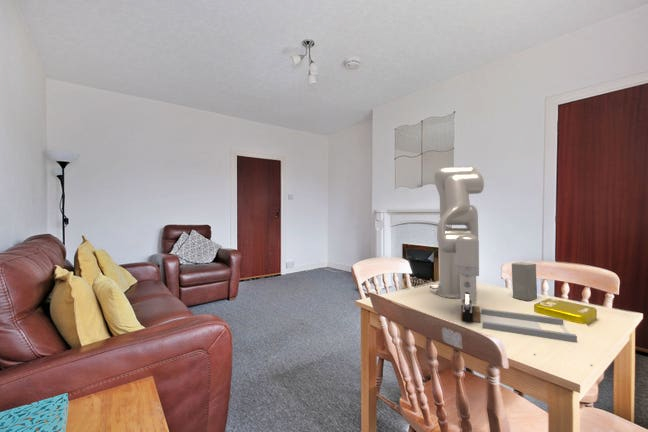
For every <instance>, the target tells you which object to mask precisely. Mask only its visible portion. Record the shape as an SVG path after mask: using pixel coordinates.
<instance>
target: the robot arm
mask: <svg viewBox="0 0 648 432" xmlns="http://www.w3.org/2000/svg"><path fill="white" fill-rule="evenodd" d="M433 179H434V184H435V187H436V190H437V192H438V195H439V221H438V224H437V234H436V238H437V239H436V240H437V244H438V245H437V246H438V255H439V256H438V257H439V258H438V259H439V261H438V262H439V263H438V264H439V271H438V272H439V283H437V284H433V283H430V284H429V289H432V290H436V291H435V293H436V295H437V296H439V297H442V298H445V299H460V303H461V305H463V311H462V322H465V323H471V324H473V323H474V322H473V313H472V306H477V278H476V277H479V276H480V240H479V214H478V210H477V208H476V206H474V205H472V204H471V202H470V195H472V194H473V195H475V194H476V195H477V194H481V193H482V192H483V191H484V187H485V181H484V177H483V175H482V173H481V171H480V170H479V169H478V168H477V167H475V166H473V165H470V166H469V165H467V166H466V165H465V166H447V167H440V168H438V169H436V170H435V172H434V178H433ZM446 226H465V227H461V228H460V227H446ZM469 306H470V307H469Z"/></svg>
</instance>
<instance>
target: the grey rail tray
mask: <svg viewBox="0 0 648 432" xmlns="http://www.w3.org/2000/svg"><path fill="white" fill-rule="evenodd" d="M480 312H481V324H482V329H484V330H485V329H486V330H491V331H499V332H504V333H512V334H519V335H525V336H532V337H538V338H545V339H550V340H557V341H563V342H570V343H571V342H572V343H578V336H577V335H576V333H575V334H574V333H570V332H569V331H568V330H567V329H568V328H566V327H565V325H564V320H563V319H562V318H555V317H551V316H547V315H537V314H531V313H530V314H528V313H523V312H522V313H521V312H512V311H505V310H504V311H503V310H497V309H496V310H495V309H489V308H488V309H487V308H482V307H481V308H480ZM539 323H541V324H550V325H556V326H560V328H561V329H562V330H563V331H564V332H561V331H556V330H547V329H542V327H541V326H540V324H539Z"/></svg>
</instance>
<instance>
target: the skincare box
mask: <svg viewBox="0 0 648 432" xmlns="http://www.w3.org/2000/svg"><path fill="white" fill-rule="evenodd" d="M511 277H512V278H511V282H512V298H514V299H518V300H522V301H525V302H529V301H532V300H535V299H538V288H537V287H538V285H537V264H536V263H534V262H533V263H531V262H523V261H522V262H513V263H511Z"/></svg>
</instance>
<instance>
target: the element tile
mask: <svg viewBox="0 0 648 432" xmlns="http://www.w3.org/2000/svg"><path fill="white" fill-rule="evenodd" d="M533 310H534V311H533V312H535V314H539V315H542V316H546V317H554V318H562V319H563V321H566V322H570V323H575V324H580V325H584V324H585V326H590V325H591V324H592V323H595V321H597V318H598V317H597V316H598V314H597V313H598V312H597V311H598V309H597V308H596V307H593V306H590V305H584V304H581V303H575V302H570V301H566V300H561V299H556V298H550V297H549V298H546V299H544V300H542V301H539V302H537V303H535V304H534V305H533Z"/></svg>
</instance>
